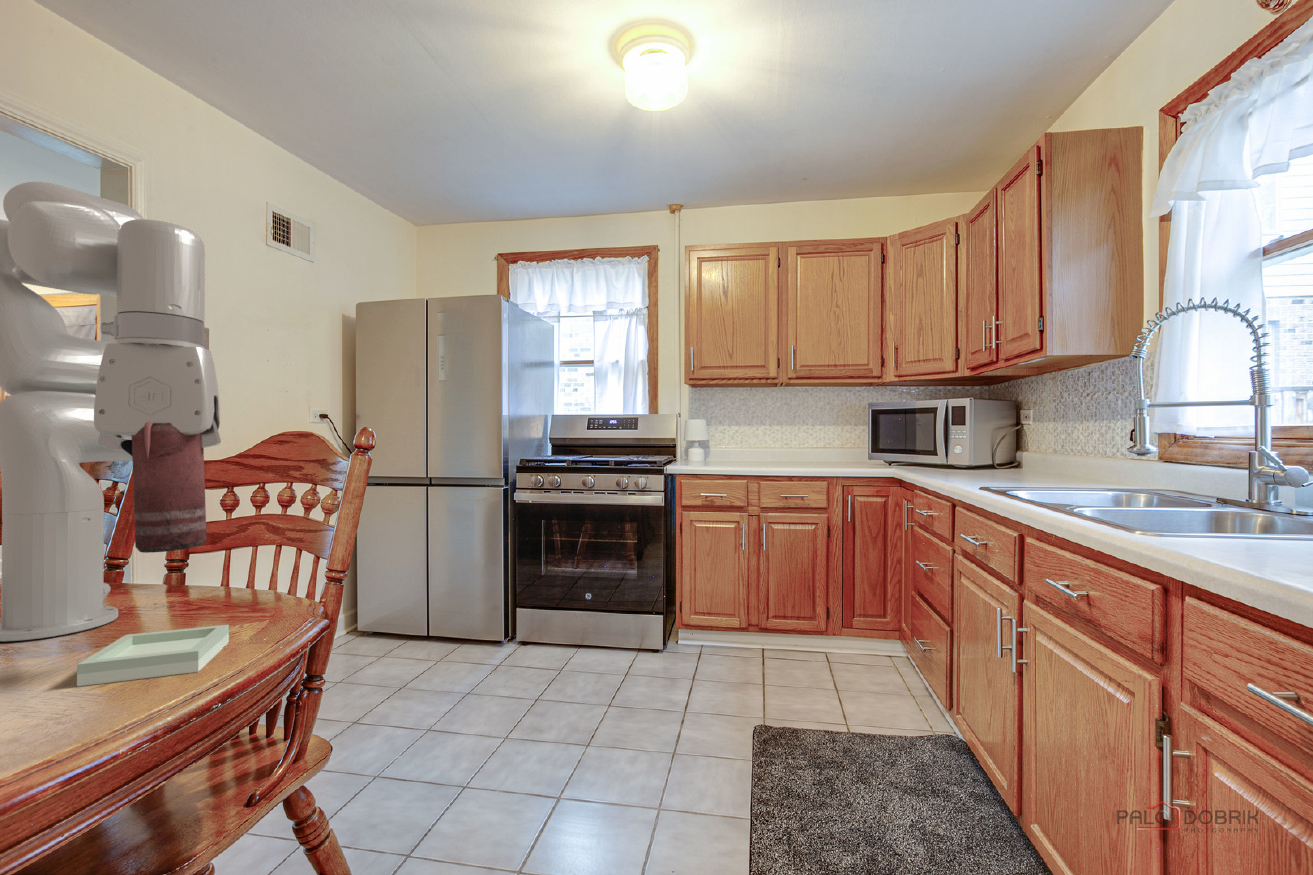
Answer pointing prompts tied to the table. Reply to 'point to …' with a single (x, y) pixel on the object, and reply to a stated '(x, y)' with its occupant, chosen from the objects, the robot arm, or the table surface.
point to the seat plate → (153, 655)
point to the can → (168, 489)
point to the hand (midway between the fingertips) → (161, 498)
